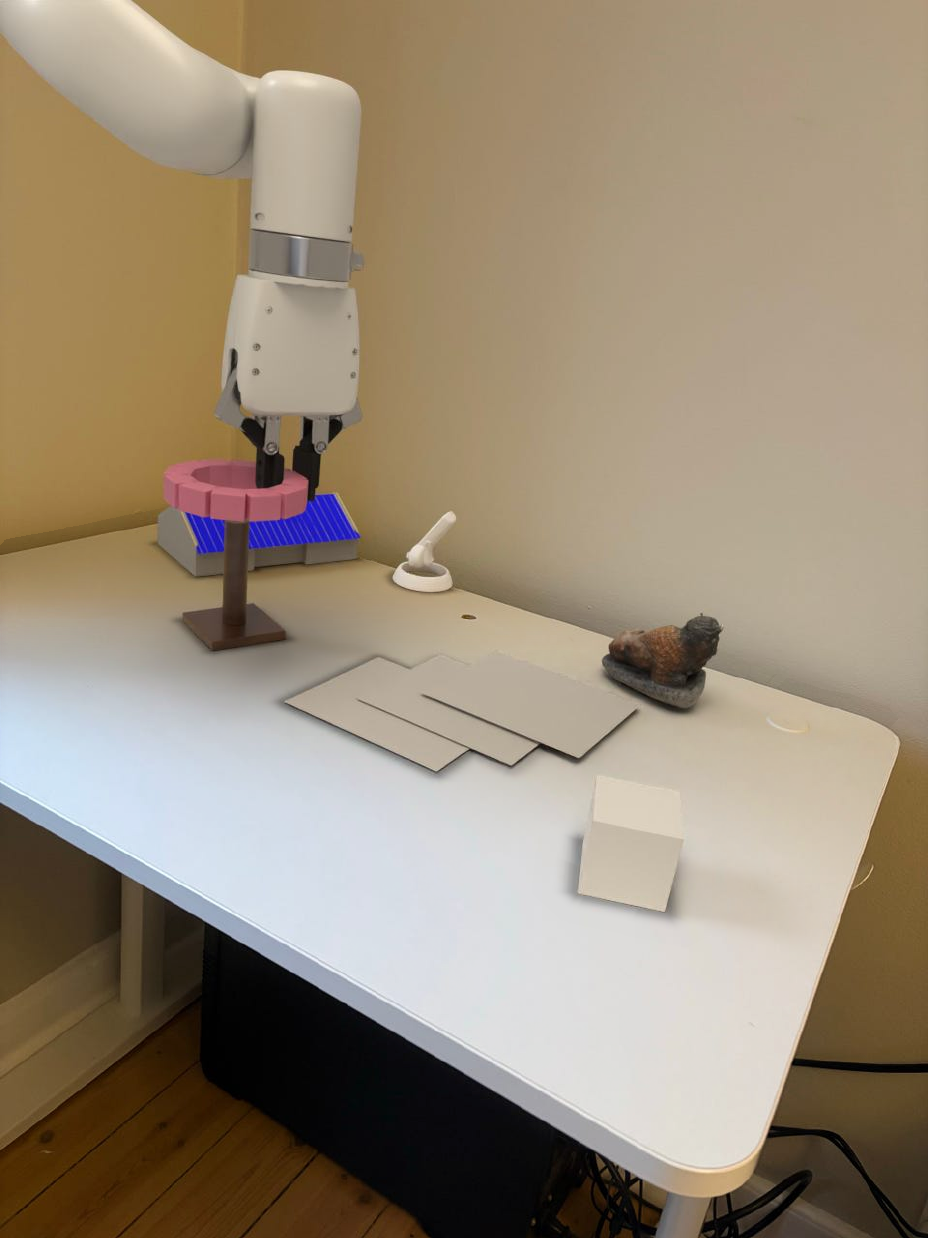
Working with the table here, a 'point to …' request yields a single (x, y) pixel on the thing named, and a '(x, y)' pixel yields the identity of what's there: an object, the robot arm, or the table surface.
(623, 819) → the off-white cube
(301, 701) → the paper stack
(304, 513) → the roof
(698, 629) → the bison figurine
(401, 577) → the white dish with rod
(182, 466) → the ring
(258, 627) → the stand
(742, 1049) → the table surface
